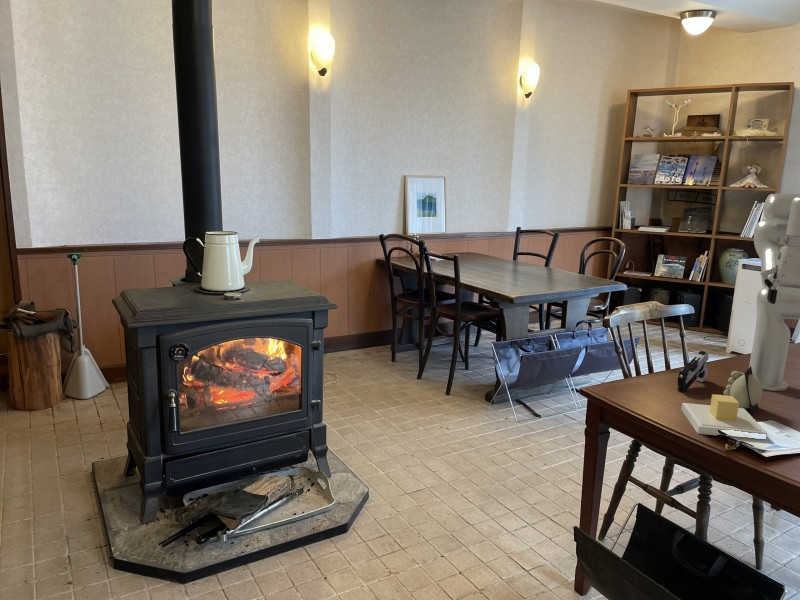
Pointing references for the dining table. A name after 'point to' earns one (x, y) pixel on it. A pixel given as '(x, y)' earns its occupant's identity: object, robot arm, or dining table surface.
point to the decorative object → (745, 389)
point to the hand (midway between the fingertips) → (790, 304)
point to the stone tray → (710, 425)
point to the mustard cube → (724, 407)
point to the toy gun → (693, 371)
